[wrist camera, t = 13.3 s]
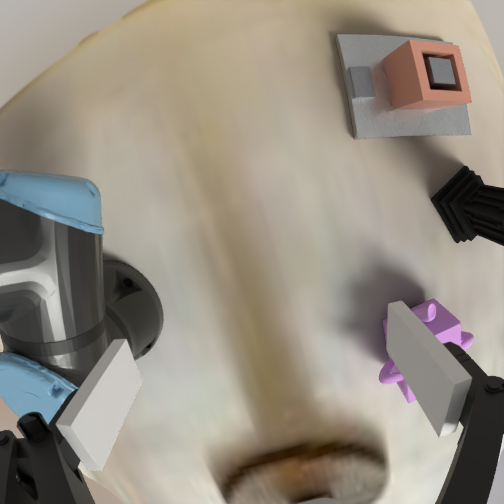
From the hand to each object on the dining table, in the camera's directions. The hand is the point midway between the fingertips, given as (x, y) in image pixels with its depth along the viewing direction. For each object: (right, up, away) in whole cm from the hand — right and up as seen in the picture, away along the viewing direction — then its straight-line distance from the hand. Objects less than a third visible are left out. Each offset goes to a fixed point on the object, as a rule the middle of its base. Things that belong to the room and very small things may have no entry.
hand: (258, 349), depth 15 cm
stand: (+20, +27, +20) cm, 39 cm away
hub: (+20, +26, +19) cm, 38 cm away
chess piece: (+30, +12, +24) cm, 40 cm away
